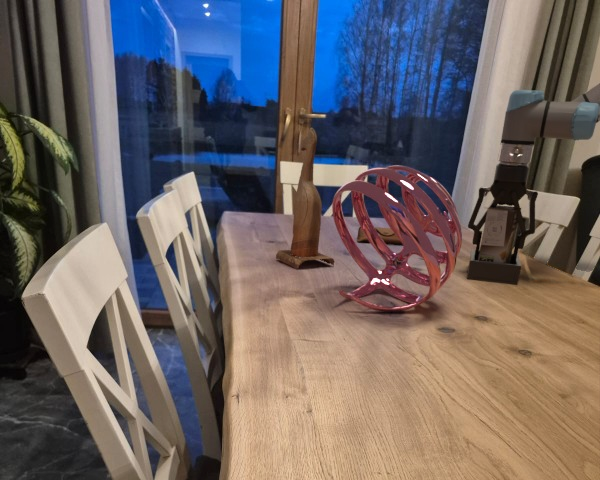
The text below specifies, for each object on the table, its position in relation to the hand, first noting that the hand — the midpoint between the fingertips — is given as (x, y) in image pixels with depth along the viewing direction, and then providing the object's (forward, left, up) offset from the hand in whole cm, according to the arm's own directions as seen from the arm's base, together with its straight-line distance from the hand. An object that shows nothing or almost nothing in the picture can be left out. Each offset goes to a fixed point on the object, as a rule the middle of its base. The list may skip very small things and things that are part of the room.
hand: (494, 259), depth 146 cm
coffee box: (0, 0, -4) cm, 4 cm away
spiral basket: (+21, +37, -4) cm, 43 cm away
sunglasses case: (+32, -30, -4) cm, 44 cm away
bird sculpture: (+47, +11, -4) cm, 48 cm away
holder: (0, 0, -4) cm, 4 cm away
